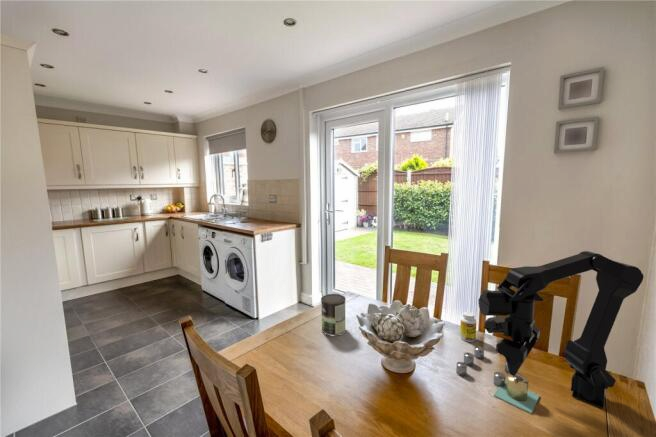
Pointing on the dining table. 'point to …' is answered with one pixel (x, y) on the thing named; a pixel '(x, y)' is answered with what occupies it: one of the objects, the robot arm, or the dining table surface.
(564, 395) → the dining table surface
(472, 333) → the supplement bottle
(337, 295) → the coffee can
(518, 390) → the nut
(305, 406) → the dining table surface
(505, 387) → the mat
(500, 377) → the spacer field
